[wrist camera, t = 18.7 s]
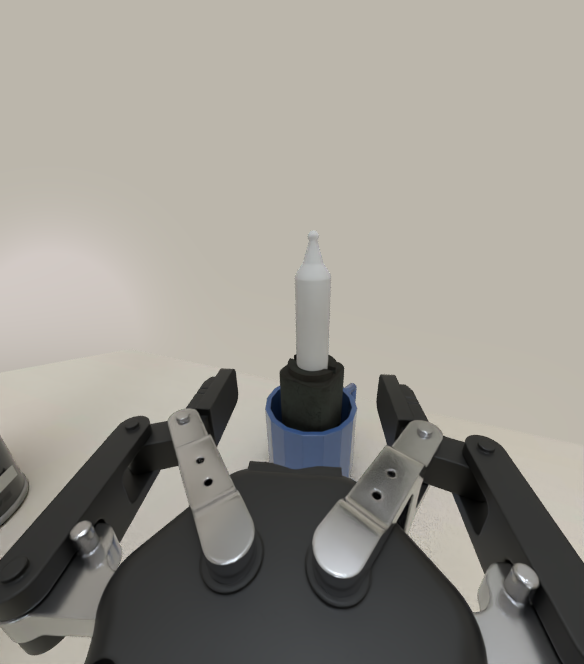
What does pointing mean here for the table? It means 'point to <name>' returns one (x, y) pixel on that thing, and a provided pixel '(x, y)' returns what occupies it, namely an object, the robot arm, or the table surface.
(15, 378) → the table surface
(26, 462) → the table surface
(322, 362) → the candle
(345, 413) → the mug
